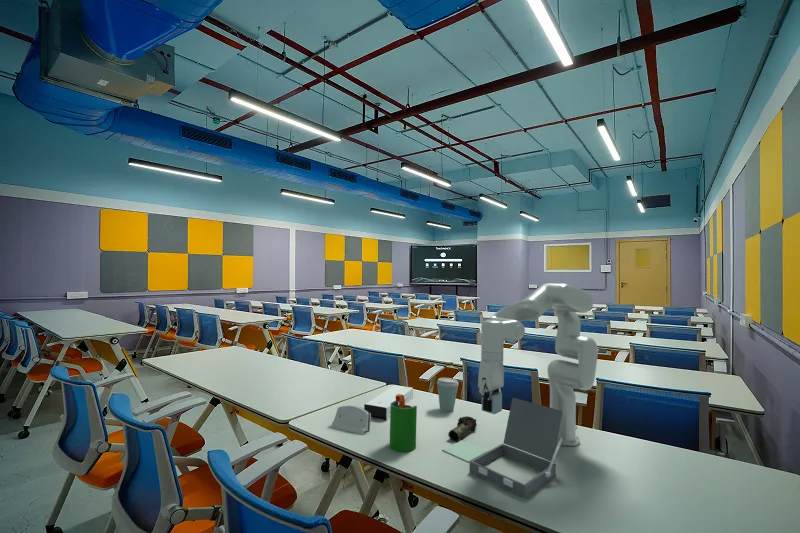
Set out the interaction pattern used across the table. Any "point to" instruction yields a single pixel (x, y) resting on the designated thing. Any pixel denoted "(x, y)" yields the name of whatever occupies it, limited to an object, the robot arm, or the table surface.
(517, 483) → the case
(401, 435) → the motor
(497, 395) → the module
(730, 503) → the table surface
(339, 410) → the hinge
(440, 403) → the disposable coffee cup
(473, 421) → the brown rough-headed cylinder
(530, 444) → the lid
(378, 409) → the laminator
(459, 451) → the mat
